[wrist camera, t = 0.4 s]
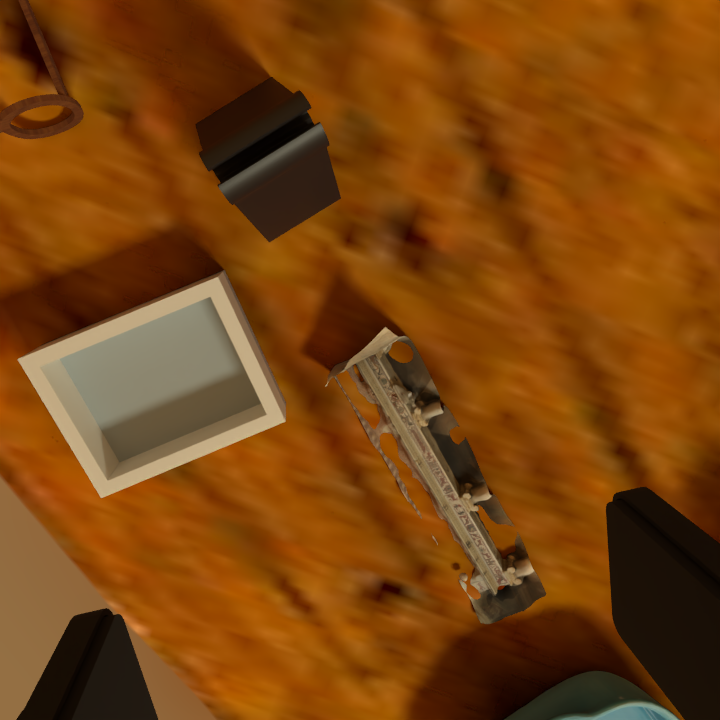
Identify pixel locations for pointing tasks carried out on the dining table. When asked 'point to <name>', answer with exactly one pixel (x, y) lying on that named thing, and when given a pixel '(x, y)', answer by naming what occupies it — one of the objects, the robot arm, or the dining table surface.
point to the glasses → (3, 119)
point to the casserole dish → (593, 701)
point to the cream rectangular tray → (157, 384)
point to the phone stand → (269, 158)
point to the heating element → (442, 472)
